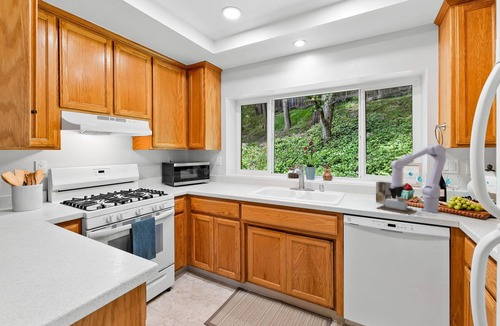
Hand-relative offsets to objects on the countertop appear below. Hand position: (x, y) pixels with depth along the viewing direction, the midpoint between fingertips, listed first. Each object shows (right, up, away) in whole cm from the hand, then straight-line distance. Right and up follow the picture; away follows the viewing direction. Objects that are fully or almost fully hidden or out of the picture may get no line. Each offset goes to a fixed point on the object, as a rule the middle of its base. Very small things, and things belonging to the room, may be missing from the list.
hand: (396, 197), depth 164 cm
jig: (0, -8, +1) cm, 8 cm away
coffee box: (+3, -7, +22) cm, 23 cm away
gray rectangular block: (0, -8, +1) cm, 8 cm away
